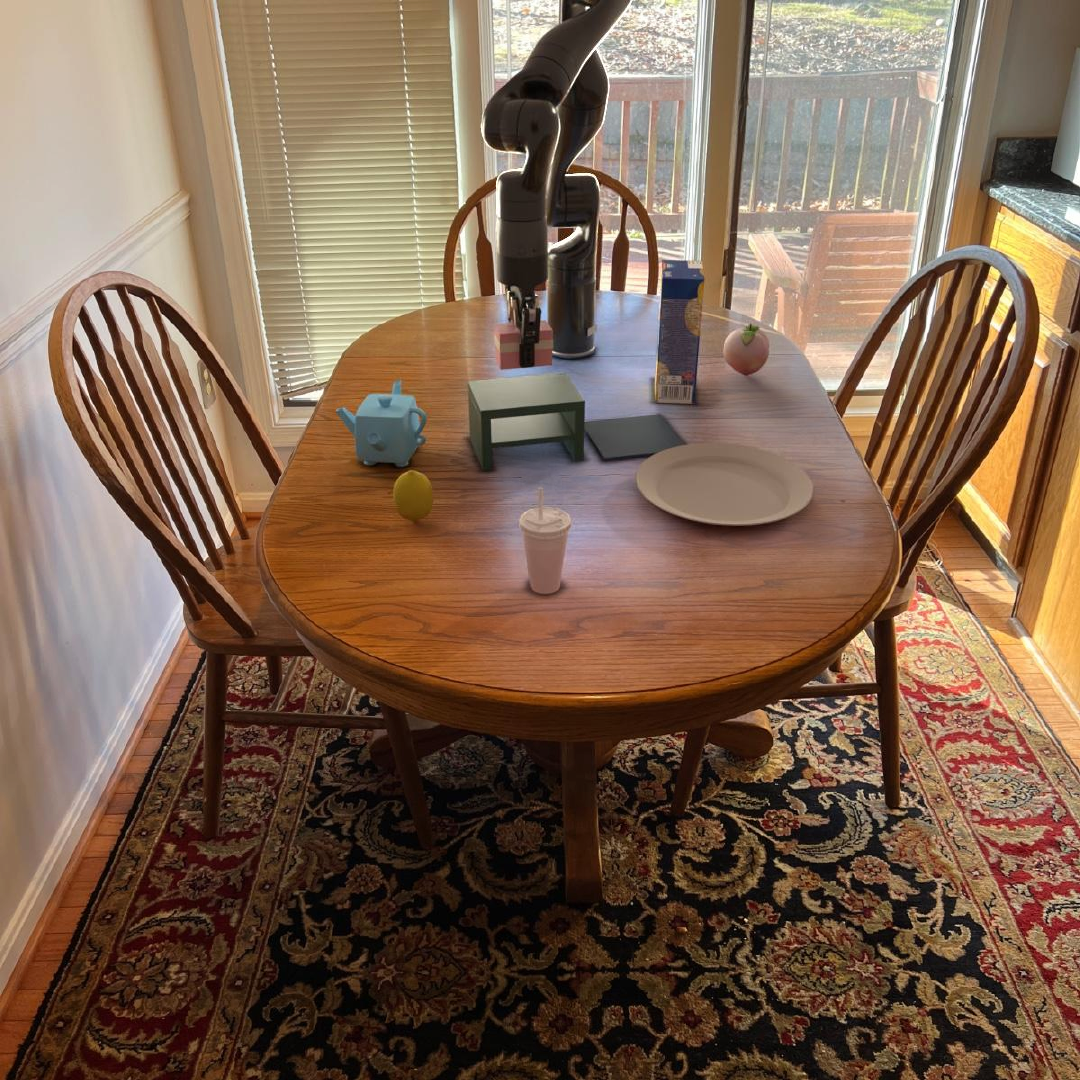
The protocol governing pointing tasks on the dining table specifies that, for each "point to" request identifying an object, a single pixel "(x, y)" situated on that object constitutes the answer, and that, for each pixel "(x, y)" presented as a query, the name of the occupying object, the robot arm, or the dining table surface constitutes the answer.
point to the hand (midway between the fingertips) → (523, 360)
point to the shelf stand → (525, 414)
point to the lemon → (413, 496)
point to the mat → (631, 436)
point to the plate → (724, 484)
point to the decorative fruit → (746, 349)
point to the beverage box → (678, 331)
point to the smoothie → (545, 545)
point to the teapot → (386, 427)
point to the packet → (509, 346)
